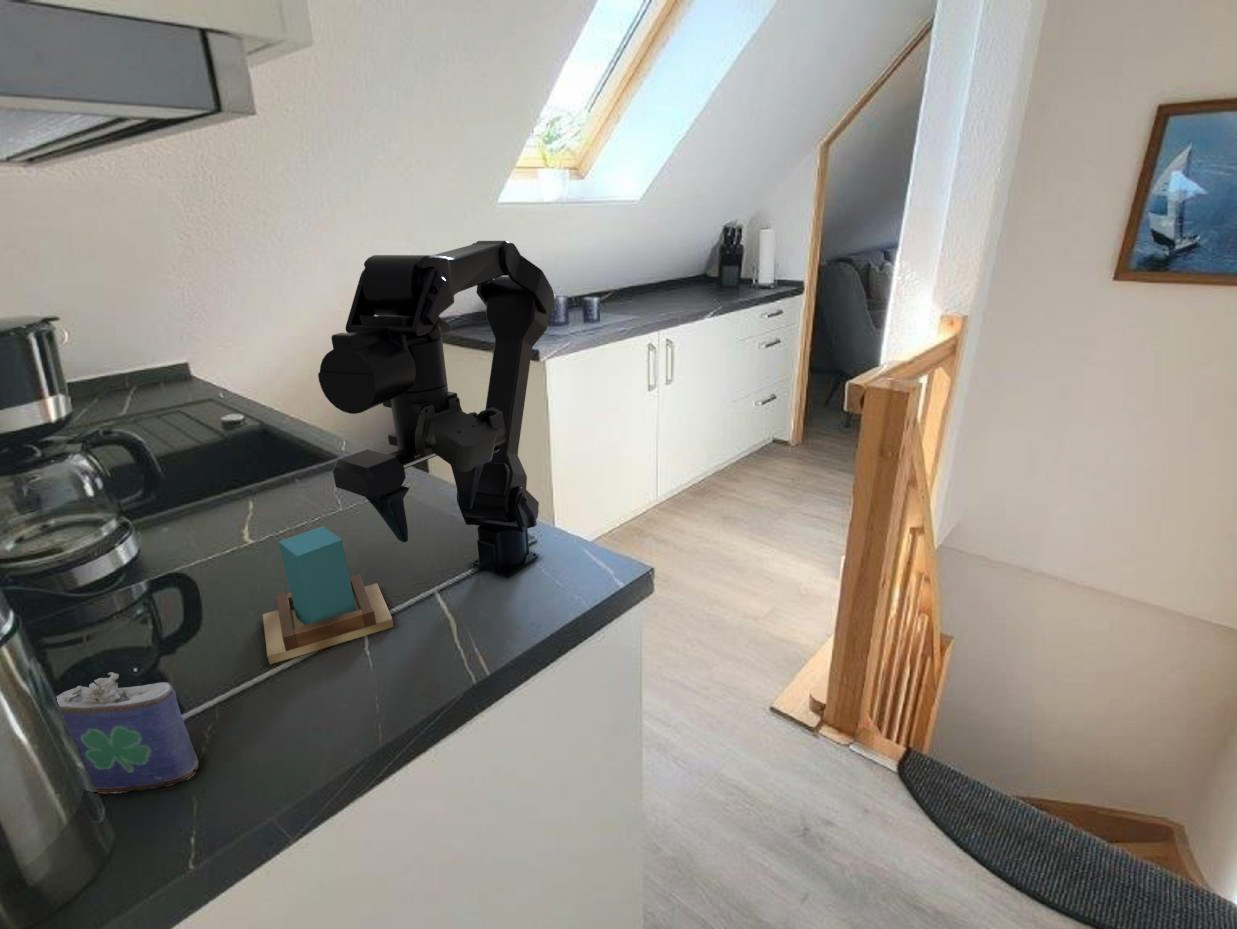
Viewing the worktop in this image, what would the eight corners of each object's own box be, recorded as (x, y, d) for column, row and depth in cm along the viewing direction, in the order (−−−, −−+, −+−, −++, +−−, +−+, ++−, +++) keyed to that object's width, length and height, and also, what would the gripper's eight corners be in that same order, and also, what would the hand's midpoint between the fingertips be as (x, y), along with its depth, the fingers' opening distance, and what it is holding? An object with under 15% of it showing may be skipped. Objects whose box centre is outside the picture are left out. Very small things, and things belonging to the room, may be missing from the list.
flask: (205, 760, 58) (172, 661, 54) (188, 787, 55) (151, 686, 51) (95, 769, 57) (53, 670, 53) (72, 797, 54) (26, 695, 50)
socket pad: (378, 590, 83) (374, 569, 82) (394, 628, 75) (390, 606, 74) (264, 621, 77) (258, 600, 76) (269, 666, 69) (263, 643, 68)
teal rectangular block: (337, 599, 79) (322, 525, 75) (357, 615, 76) (342, 539, 72) (296, 617, 76) (278, 541, 72) (314, 634, 73) (296, 556, 69)
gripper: (395, 422, 54) (420, 583, 60) (539, 375, 69) (548, 508, 74) (316, 403, 60) (345, 552, 66) (464, 363, 74) (477, 488, 80)
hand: (437, 523), depth 71 cm, fingers open, 9 cm apart
